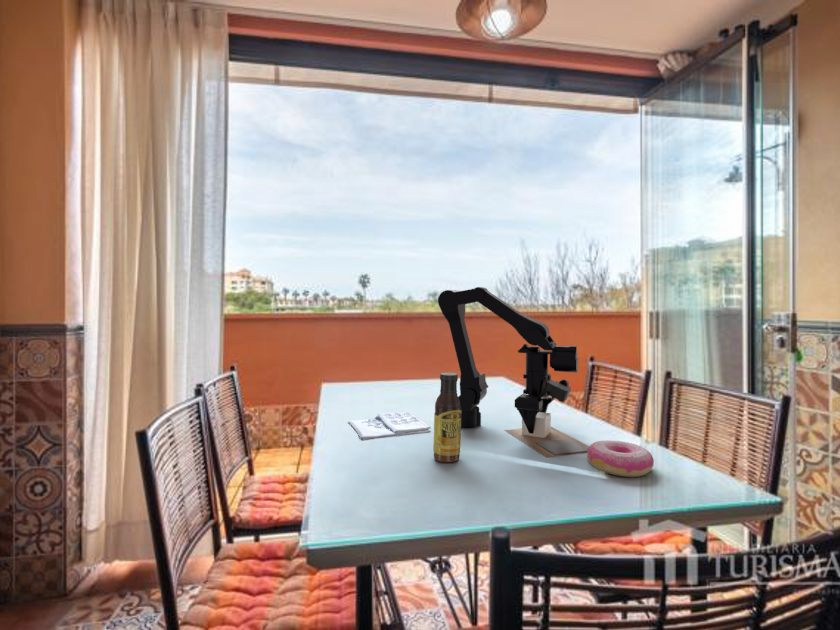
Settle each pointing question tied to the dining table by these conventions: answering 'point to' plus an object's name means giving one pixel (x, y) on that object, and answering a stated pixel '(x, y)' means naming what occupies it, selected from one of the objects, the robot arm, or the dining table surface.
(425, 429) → the open sketchbook
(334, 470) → the dining table surface
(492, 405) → the dining table surface
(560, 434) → the post stand
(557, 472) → the dining table surface
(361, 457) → the dining table surface
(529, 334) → the robot arm
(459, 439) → the sauce bottle
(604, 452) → the donut
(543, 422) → the off-white cube box
